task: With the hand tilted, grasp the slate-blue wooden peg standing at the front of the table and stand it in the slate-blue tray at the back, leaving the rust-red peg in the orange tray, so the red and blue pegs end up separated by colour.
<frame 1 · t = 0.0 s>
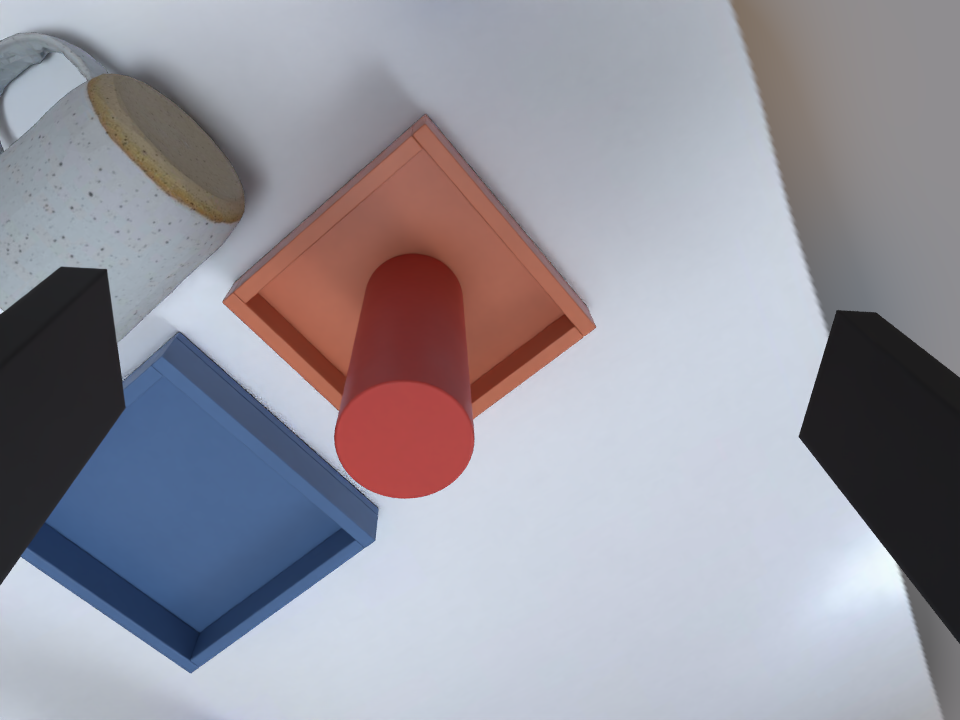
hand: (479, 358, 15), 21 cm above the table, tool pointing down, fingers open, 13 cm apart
blue tray: (192, 500, 40), on the table
ceramic mug: (113, 164, 33), on the table
red peg: (414, 299, 36), resting on orange tray
orange tray: (414, 295, 36), on the table
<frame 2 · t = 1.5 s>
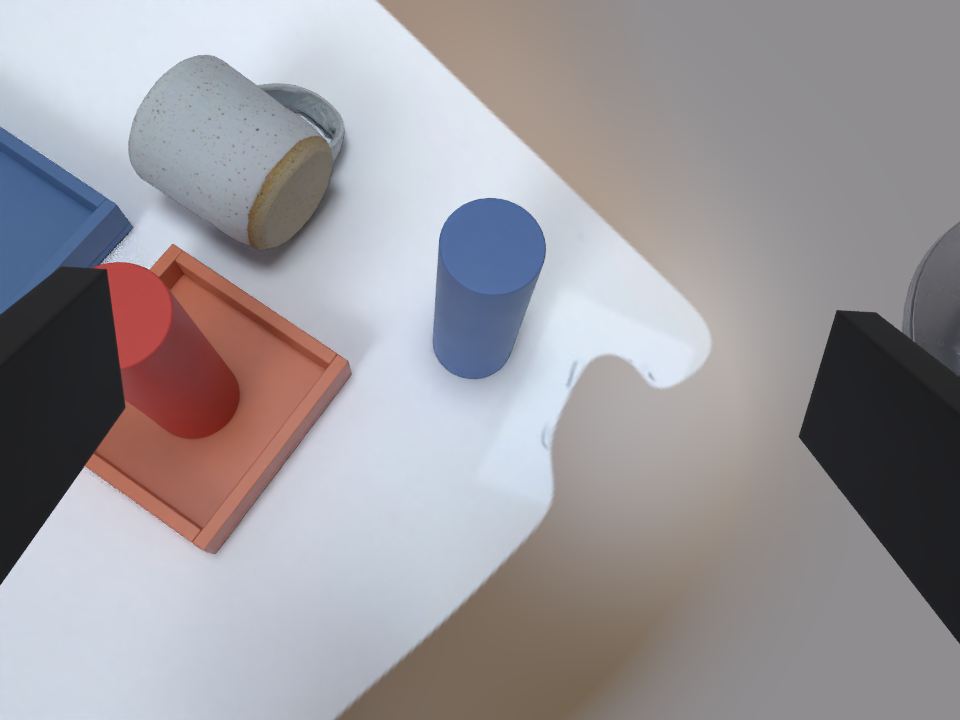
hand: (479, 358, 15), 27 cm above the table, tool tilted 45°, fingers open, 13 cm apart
ceramic mug: (263, 176, 46), on the table
blue peg: (472, 340, 44), on the table
red peg: (196, 397, 41), resting on orange tray
orange tray: (199, 399, 42), on the table
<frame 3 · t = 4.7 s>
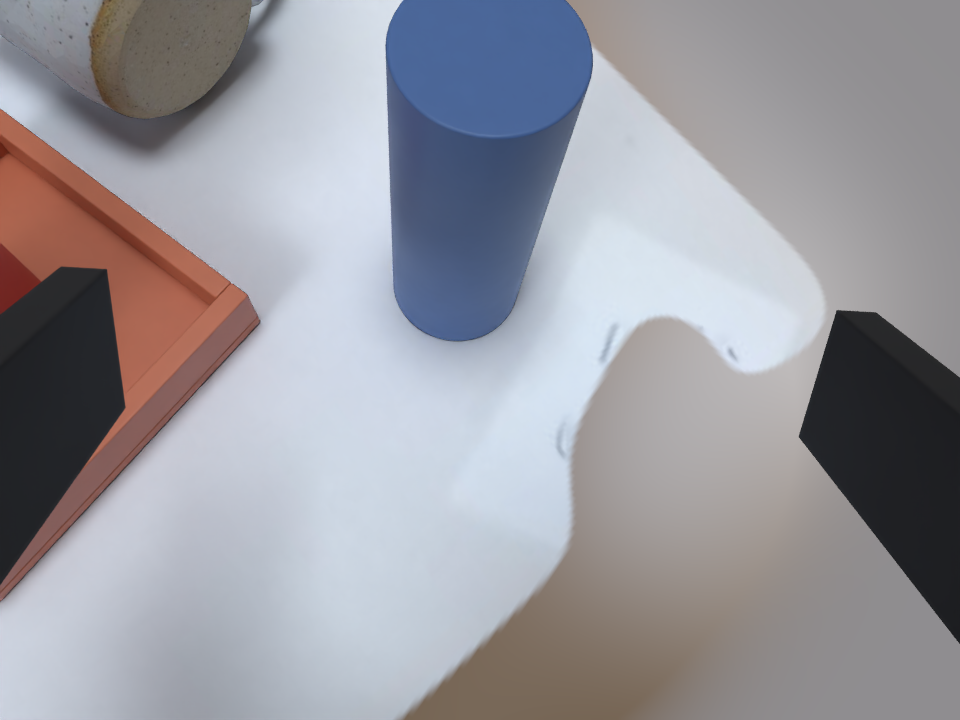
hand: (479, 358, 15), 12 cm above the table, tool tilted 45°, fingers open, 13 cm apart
ceramic mug: (156, 24, 30), on the table
blue peg: (455, 283, 28), on the table
red peg: (1, 342, 25), resting on orange tray
orange tray: (8, 347, 26), on the table
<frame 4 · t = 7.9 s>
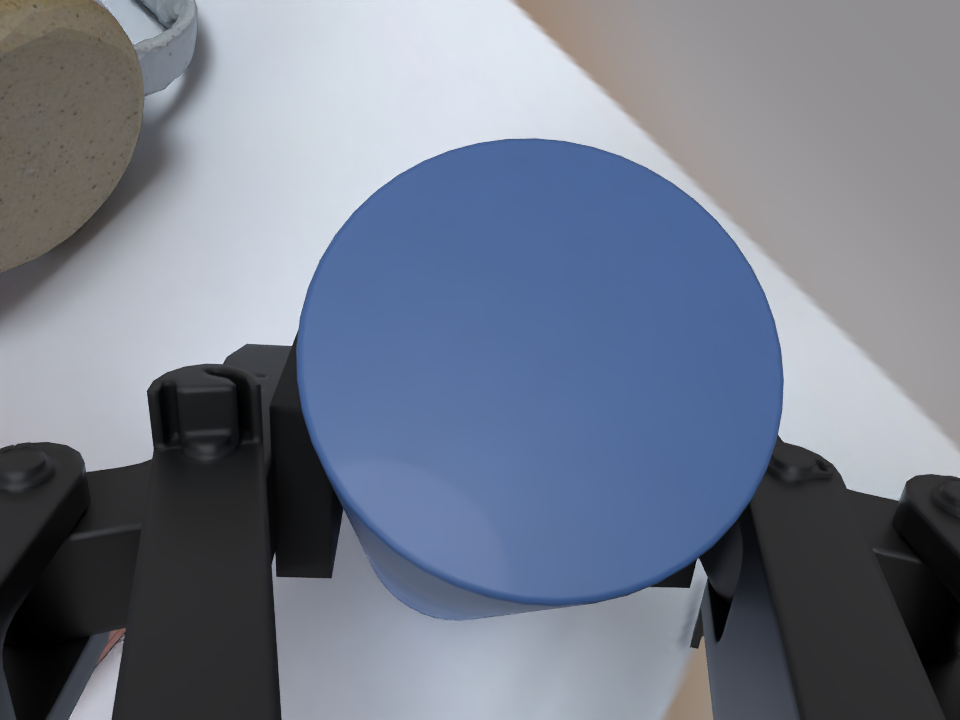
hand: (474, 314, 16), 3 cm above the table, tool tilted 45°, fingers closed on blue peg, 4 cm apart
ceramic mug: (17, 115, 21), on the table
blue peg: (458, 520, 18), on the table, touching gripper
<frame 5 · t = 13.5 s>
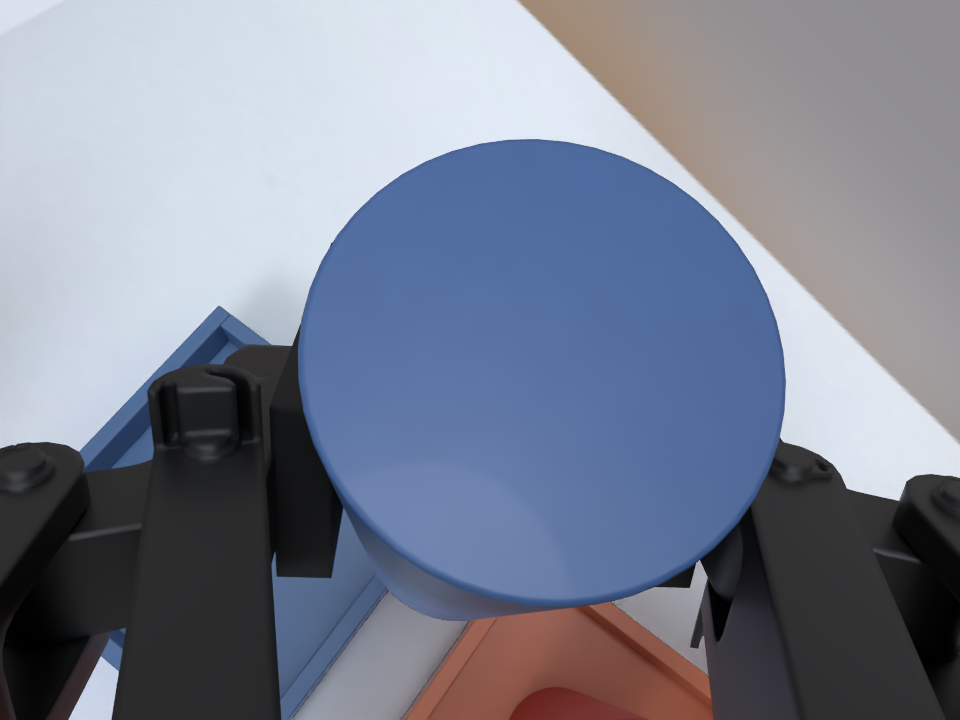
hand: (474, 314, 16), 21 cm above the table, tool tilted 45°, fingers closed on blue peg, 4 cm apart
blue tray: (242, 527, 34), on the table
blue peg: (458, 521, 18), point 17 cm above the table, touching gripper
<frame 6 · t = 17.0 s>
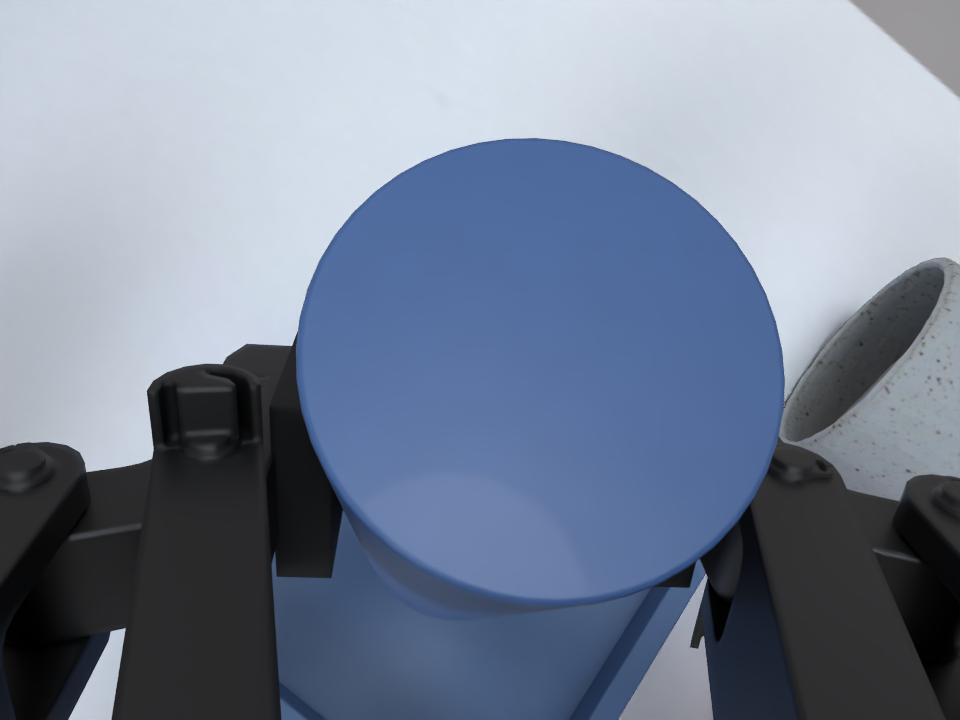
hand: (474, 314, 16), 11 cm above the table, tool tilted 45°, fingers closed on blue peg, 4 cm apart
blue tray: (444, 550, 26), on the table
ceramic mug: (895, 420, 29), on the table
blue peg: (458, 521, 18), point 8 cm above the table, touching gripper
when the fingers open (4 cm above the table, at t = 19.3 s): blue peg stays where it is, resting on blue tray.
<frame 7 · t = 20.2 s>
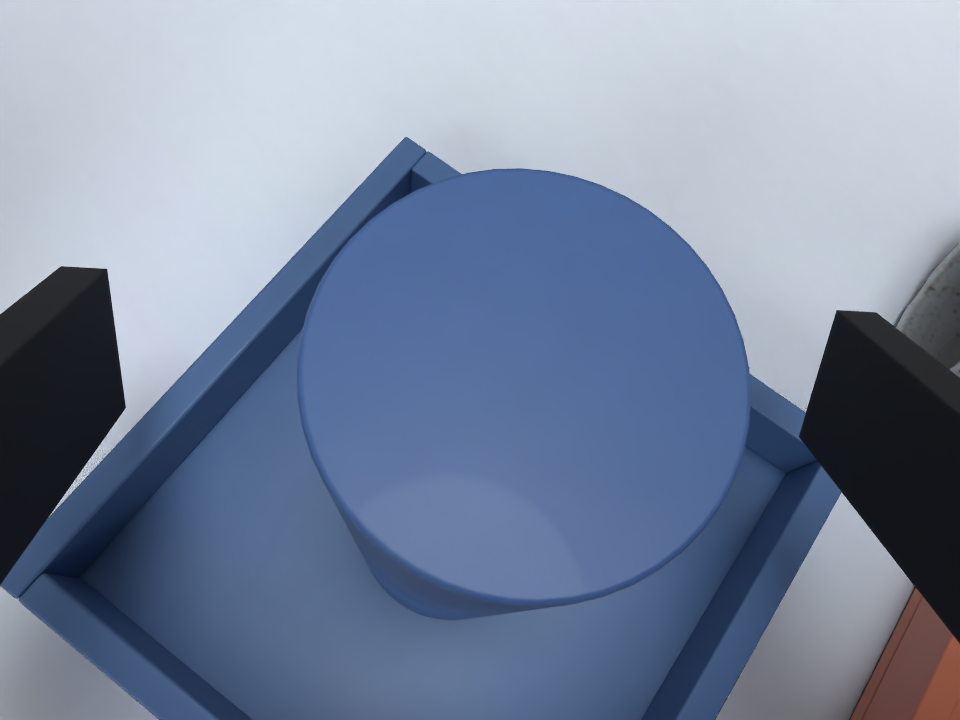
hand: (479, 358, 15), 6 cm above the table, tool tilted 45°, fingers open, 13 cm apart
blue tray: (453, 525, 19), on the table
blue peg: (452, 523, 19), point 1 cm above the table, touching blue tray
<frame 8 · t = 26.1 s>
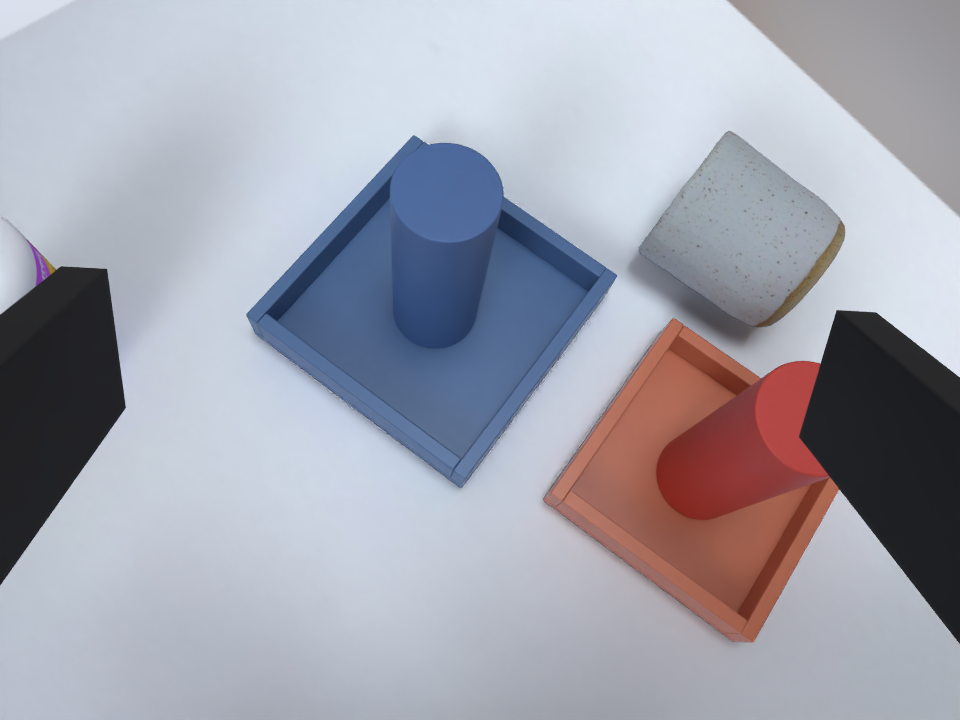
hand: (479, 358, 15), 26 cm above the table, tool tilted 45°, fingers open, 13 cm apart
blue tray: (435, 313, 42), on the table
supplement bottle: (45, 357, 40), on the table
ceramic mug: (720, 247, 45), on the table
blue peg: (435, 309, 42), point 1 cm above the table, touching blue tray
red peg: (698, 476, 40), resting on orange tray
orange tray: (694, 478, 41), on the table
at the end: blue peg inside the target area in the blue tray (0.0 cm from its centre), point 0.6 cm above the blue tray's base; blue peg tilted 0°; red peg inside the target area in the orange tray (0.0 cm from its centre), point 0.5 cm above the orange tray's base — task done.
